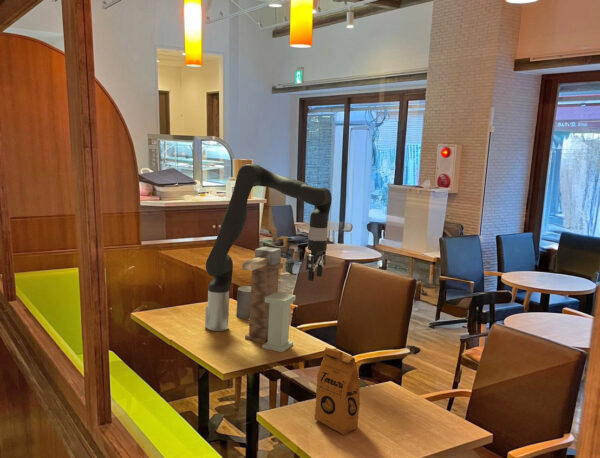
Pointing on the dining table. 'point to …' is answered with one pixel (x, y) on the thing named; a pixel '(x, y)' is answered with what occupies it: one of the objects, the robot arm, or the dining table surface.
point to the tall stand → (262, 301)
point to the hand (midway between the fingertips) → (315, 278)
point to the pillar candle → (243, 302)
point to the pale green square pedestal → (279, 321)
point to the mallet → (263, 258)
